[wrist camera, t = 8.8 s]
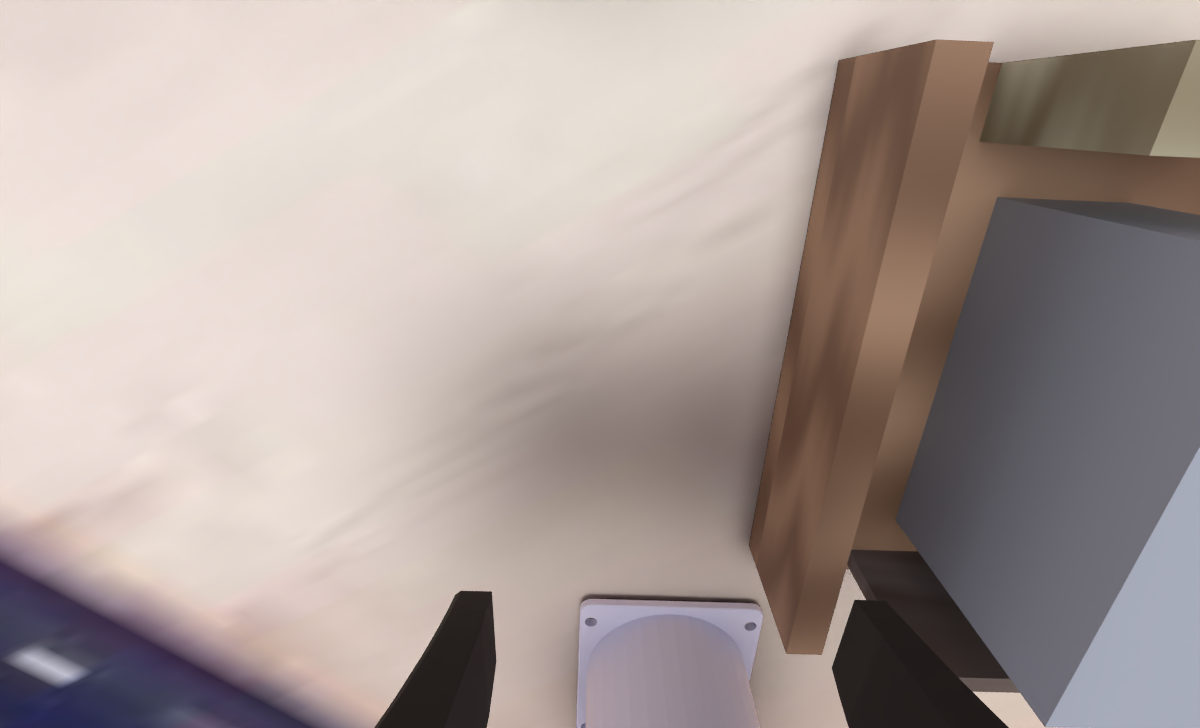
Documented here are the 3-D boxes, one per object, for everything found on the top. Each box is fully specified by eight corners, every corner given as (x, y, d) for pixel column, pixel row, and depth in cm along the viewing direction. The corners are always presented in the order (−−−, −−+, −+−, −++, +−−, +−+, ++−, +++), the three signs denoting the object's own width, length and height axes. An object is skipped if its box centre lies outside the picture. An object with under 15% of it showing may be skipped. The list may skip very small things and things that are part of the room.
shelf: (1077, 555, 24) (1241, 707, 18) (748, 545, 24) (800, 695, 18) (1311, 80, 17) (1723, 63, 11) (839, 60, 16) (980, 29, 10)
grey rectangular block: (1129, 202, 17) (1530, 272, 10) (998, 523, 22) (1199, 731, 15) (997, 197, 17) (1301, 263, 10) (895, 520, 22) (1044, 726, 14)
